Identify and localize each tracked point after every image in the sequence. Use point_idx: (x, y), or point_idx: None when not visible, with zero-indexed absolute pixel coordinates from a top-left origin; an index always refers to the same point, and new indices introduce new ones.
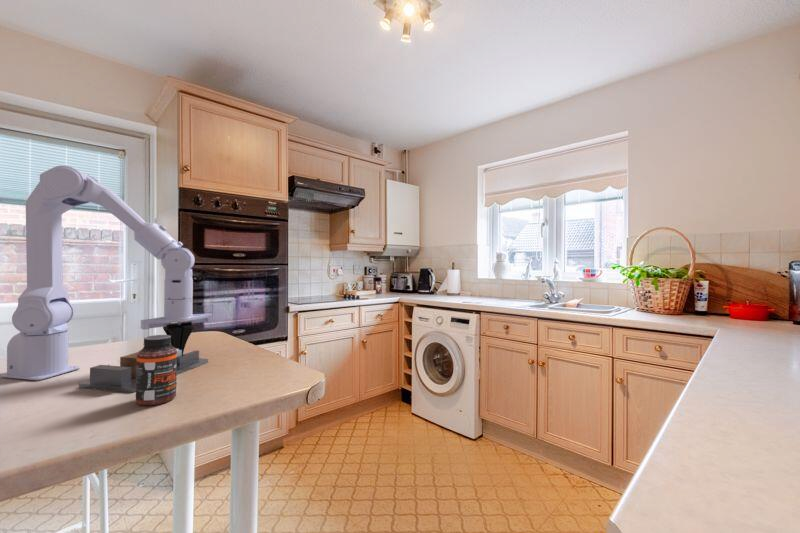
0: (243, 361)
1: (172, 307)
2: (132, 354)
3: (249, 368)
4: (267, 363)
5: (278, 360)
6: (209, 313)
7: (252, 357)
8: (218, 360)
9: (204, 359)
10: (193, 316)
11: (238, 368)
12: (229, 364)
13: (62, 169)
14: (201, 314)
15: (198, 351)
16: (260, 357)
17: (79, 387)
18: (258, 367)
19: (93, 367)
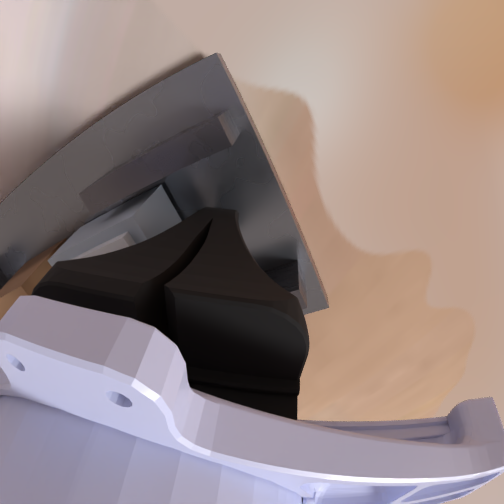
0: (394, 368)
1: None
2: (8, 306)
3: (341, 415)
4: (398, 411)
5: (432, 407)
6: (495, 477)
7: (446, 351)
8: (370, 303)
9: (313, 304)
10: (317, 501)
11: (326, 402)
12: (346, 365)
13: None
14: (412, 502)
15: (302, 306)
16: (451, 365)
17: None
18: (358, 420)
19: None
